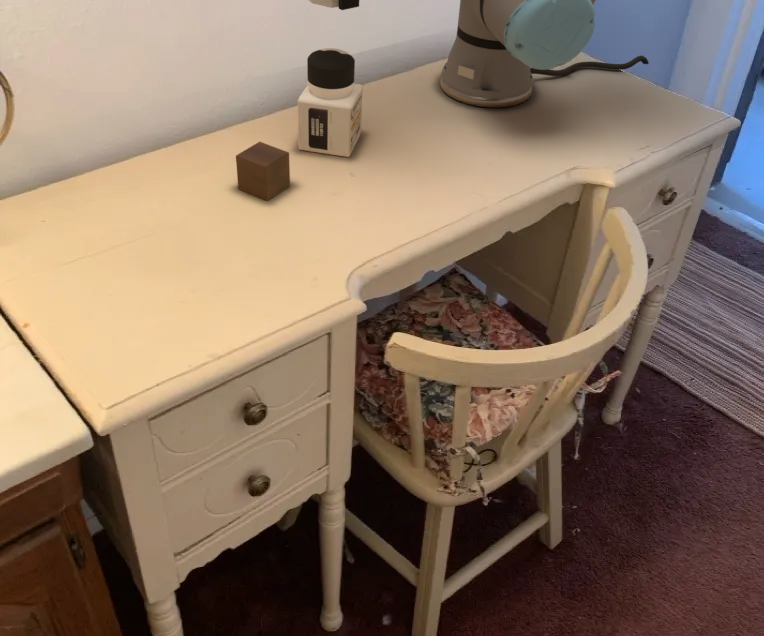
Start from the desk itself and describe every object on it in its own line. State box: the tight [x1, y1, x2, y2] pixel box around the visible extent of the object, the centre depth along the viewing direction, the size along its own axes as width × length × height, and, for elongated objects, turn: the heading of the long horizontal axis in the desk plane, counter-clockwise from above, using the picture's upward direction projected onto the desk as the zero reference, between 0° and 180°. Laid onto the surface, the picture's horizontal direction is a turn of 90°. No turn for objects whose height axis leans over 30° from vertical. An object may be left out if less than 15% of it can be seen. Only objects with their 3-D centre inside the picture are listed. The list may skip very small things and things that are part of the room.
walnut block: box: [235, 141, 291, 202], centre depth 111 cm, size 5×5×5 cm
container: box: [297, 47, 364, 158], centre depth 119 cm, size 8×8×13 cm
